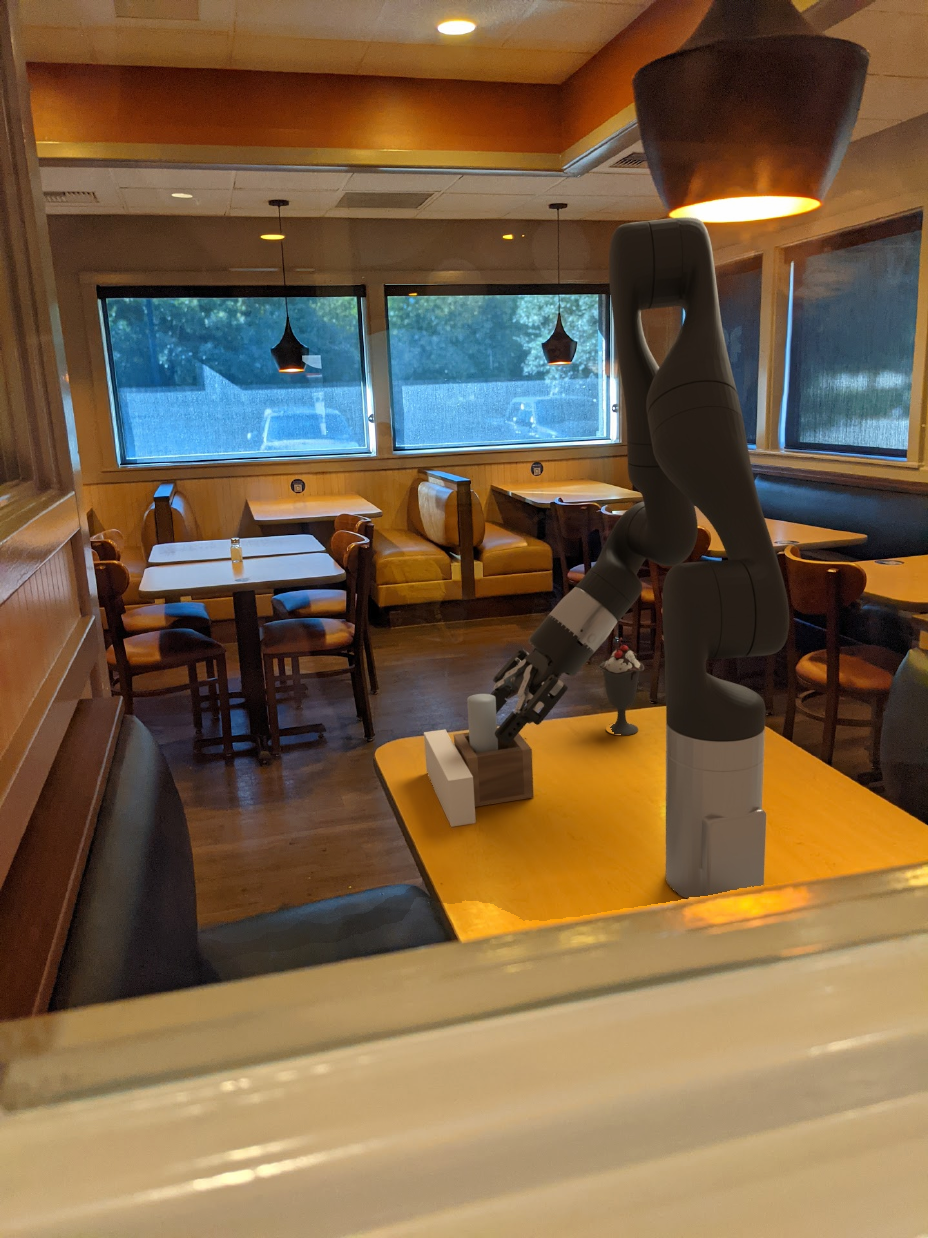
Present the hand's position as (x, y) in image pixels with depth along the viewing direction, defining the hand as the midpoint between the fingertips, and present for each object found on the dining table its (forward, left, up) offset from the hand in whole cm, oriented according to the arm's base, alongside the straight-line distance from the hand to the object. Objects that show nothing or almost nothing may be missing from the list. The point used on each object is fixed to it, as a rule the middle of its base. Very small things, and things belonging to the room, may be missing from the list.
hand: (490, 728), depth 106 cm
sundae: (+13, -24, -9) cm, 28 cm away
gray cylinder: (0, +1, -8) cm, 8 cm away
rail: (0, +6, -9) cm, 10 cm away
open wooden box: (0, 0, -9) cm, 9 cm away
